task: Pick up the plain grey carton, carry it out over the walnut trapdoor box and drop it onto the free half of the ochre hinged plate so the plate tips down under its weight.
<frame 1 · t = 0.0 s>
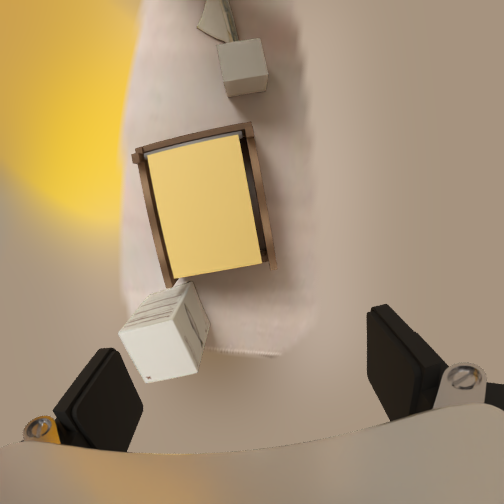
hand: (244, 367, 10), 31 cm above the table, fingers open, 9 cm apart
trapdoor: (203, 206, 33), point 7 cm above the table, hinge at 0.0°
supplement box: (179, 308, 44), on the table
trapdoor frame: (212, 202, 40), on the table
plain grey carton: (243, 77, 36), on the table
ceramic fragment: (222, 16, 34), on the table
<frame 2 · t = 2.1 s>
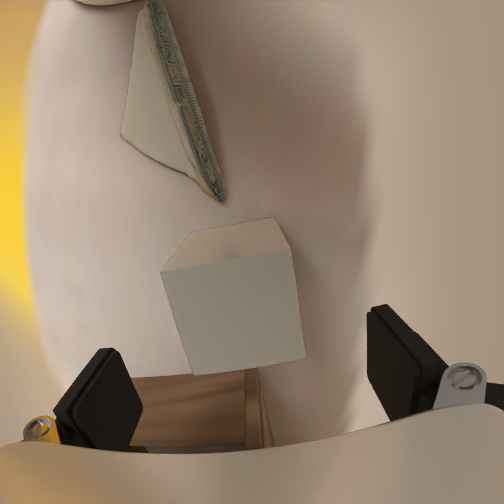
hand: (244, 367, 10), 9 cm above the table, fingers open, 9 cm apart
trapdoor frame: (199, 443, 23), on the table
plain grey carton: (240, 264, 19), on the table
ceramic fragment: (176, 94, 16), on the table
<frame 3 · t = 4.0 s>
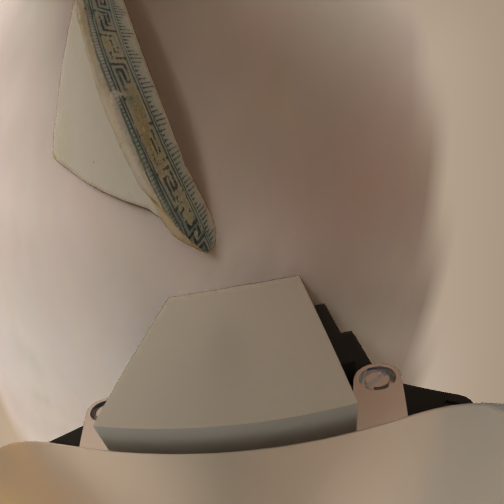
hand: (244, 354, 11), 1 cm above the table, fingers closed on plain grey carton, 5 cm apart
plain grey carton: (245, 344, 12), on the table, touching gripper
ceramic fragment: (131, 87, 10), on the table
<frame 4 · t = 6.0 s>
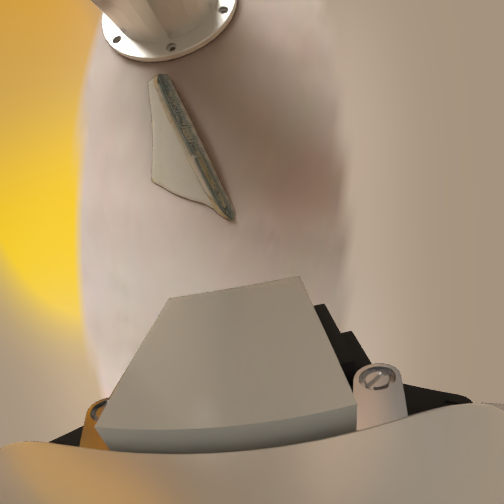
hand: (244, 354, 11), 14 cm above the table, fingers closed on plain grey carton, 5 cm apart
plain grey carton: (245, 344, 12), point 14 cm above the table, touching gripper
ceramic fragment: (188, 145, 24), on the table
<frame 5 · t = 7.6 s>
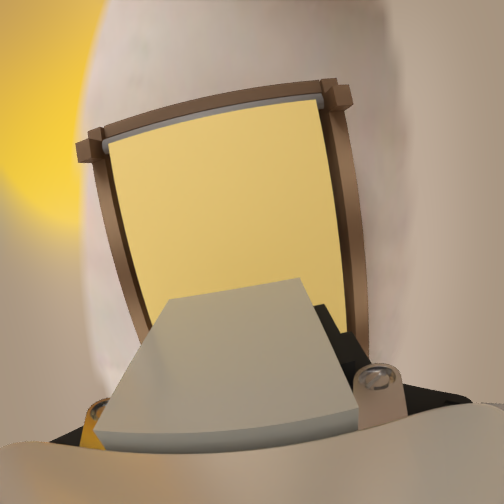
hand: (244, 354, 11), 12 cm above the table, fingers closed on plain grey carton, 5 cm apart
trapdoor: (235, 257, 15), point 7 cm above the table, hinge at 0.0°
trapdoor frame: (240, 233, 22), on the table
plain grey carton: (245, 346, 12), point 11 cm above the table, touching gripper
when the fingers open (11 cm above the table, at t = 8.3 s): plain grey carton drops 7 cm and tips over, resting on trapdoor.
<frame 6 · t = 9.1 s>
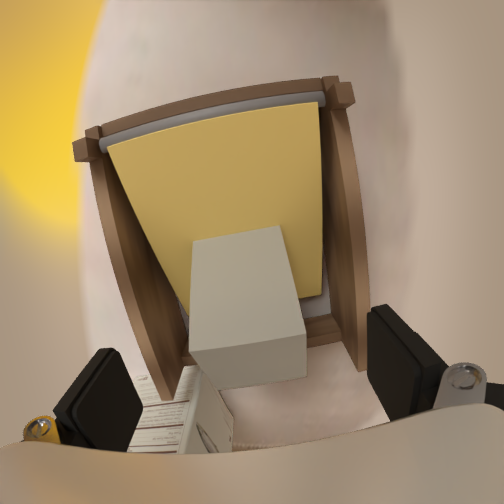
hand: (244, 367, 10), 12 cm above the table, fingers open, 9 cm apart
trapdoor: (234, 227, 18), point 4 cm above the table, hinge at -30.5°, touching plain grey carton
supplement box: (185, 397, 26), on the table
trapdoor frame: (240, 233, 22), on the table
plain grey carton: (243, 263, 19), point 3 cm above the table, tilted 30°, touching trapdoor
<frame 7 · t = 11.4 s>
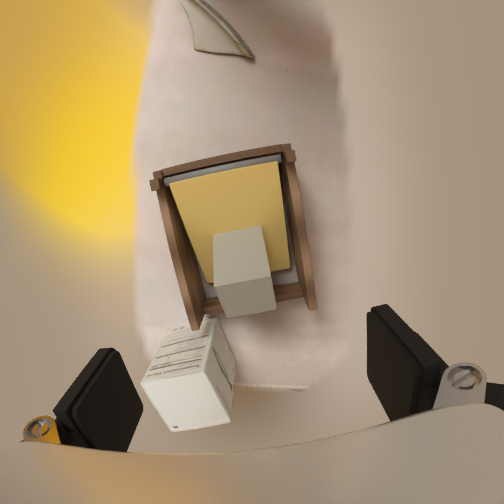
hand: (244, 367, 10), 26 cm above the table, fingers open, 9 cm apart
trapdoor: (236, 226, 32), point 4 cm above the table, hinge at -30.5°, touching plain grey carton
supplement box: (202, 344, 40), on the table
trapdoor frame: (239, 230, 36), on the table
plain grey carton: (241, 247, 33), point 3 cm above the table, tilted 30°, touching trapdoor
ceramic fragment: (215, 29, 31), on the table
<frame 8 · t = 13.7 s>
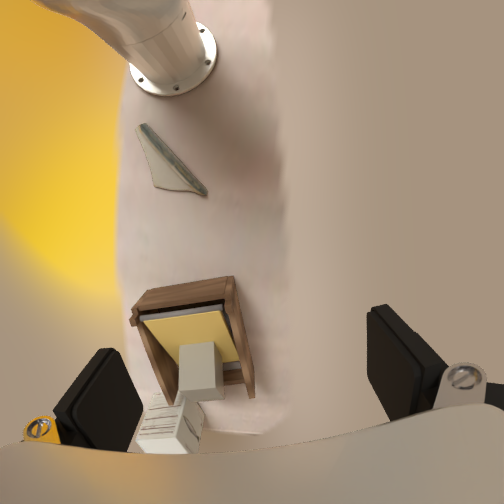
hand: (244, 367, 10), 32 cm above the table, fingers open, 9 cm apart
trapdoor: (196, 340, 41), point 4 cm above the table, hinge at -30.5°, touching plain grey carton
supplement box: (179, 403, 50), on the table
trapdoor frame: (202, 333, 46), on the table
plain grey carton: (201, 351, 43), point 3 cm above the table, tilted 30°, touching trapdoor
ceramic fragment: (170, 160, 40), on the table
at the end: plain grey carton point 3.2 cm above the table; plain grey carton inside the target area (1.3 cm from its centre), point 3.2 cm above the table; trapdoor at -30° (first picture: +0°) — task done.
